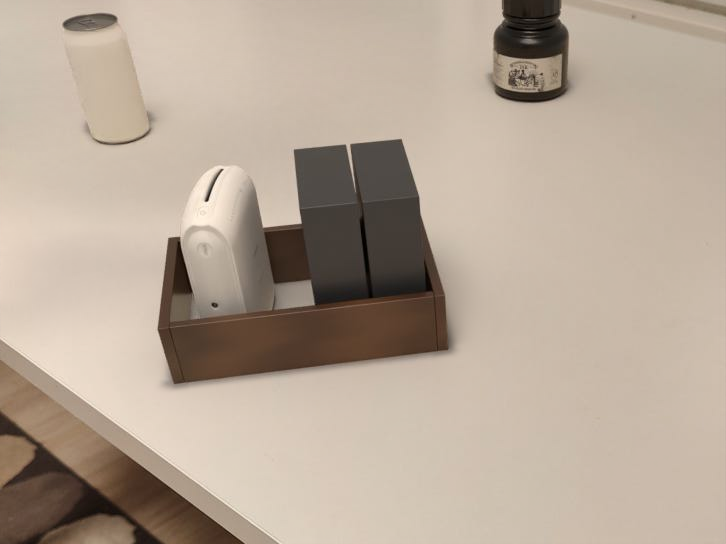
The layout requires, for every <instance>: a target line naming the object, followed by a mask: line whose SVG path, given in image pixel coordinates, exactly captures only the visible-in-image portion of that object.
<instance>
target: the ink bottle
mask: <svg viewBox="0 0 726 544" xmlns="http://www.w3.org/2000/svg"><path fill="white" fill-rule="evenodd" d="M561 9H562V0H501V10H502V11H501V15H502V17H503V18H504V19H503V20H502V22H501V23H500V24H499V25H498V26H497V27H496V28H495V30H494V32H493V38H492V39H493V40H492V42H493V44H492V45H493V48H492V80H493V88H494V90H495V92H496V93H497V94H499V95H500V96H502V97H505V98H508V99H513V100H518V101H519V100H520V101H545V100H549V99H552V98H555V97H558V96H560V95H561V94H563V92H565V90H566V88H567V87H568V73H569V50H570V49H569V48H570V47H569V46H570V32H569V30H568V28H567V26H566V25H565V24H564V23H562V21H561V19H560V16H561V13H562V11H561Z"/></svg>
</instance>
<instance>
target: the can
mask: <svg viewBox="0 0 726 544" xmlns="http://www.w3.org/2000/svg"><path fill="white" fill-rule="evenodd" d="M118 20H119V19H118V16H117V15H115V14H113V13H109V12H90V13H83V14H79V15H74V16H71V17H69V18H67V19H65V20H64V21H63V22H62V23H61V24H62V28H63V37H62V42H63V43H62V44H63V46H64V50H65V54H66V56H67V60H68V64H69V68H70V71H71V73H72V77H73V80H74V83H75V87H76V90H77V92H78V96H79V99H80V103H81V106H82V110H83V113H84V116H85V119H86V122H87V126H88V129H89V131H90V135H91V137H92V138H93V139H95V140H96V141H97V142H99V143H101V144H107V145H120V144H127V143H132V142H134V141H138V140H139V139H141V138H143V137H145V136H146V135H147V134H148V132H149V130H150V127H151V126H150V120H149V116H148V113H147V110H146V105H145V101H144V98H143V94H142V90H141V86H140V82H139V78H138V74H137V71H136V66H135V63H134V59H133V55H132V52H131V47H130V44H129V40H128V37H127V34H126V31H125V30H124V28H123V27H122V26H121V24H120V23H119V21H118Z"/></svg>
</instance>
